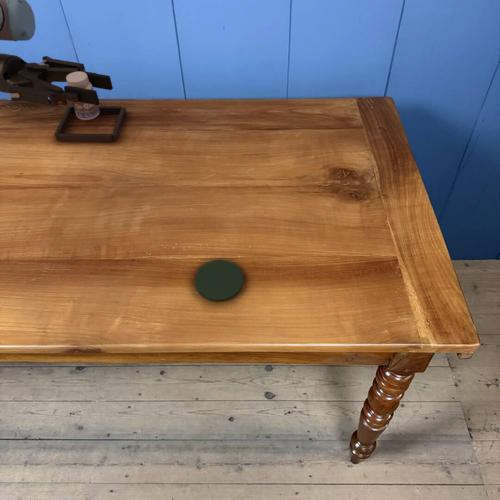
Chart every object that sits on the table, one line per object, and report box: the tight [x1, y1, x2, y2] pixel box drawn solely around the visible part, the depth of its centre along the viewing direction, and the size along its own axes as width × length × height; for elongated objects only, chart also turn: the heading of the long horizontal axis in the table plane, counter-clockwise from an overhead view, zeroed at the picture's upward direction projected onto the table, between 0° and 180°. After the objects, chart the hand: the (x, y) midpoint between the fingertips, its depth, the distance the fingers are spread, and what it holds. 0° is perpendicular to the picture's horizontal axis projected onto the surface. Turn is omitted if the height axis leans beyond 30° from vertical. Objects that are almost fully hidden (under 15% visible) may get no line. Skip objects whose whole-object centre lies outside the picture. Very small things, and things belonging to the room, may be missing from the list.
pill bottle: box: [66, 72, 100, 121], centre depth 92 cm, size 5×5×8 cm
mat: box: [194, 259, 244, 303], centre depth 72 cm, size 8×8×1 cm
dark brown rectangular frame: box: [54, 104, 128, 143], centre depth 97 cm, size 13×11×2 cm
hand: (103, 90), depth 89 cm, fingers closed on pill bottle, 5 cm apart
